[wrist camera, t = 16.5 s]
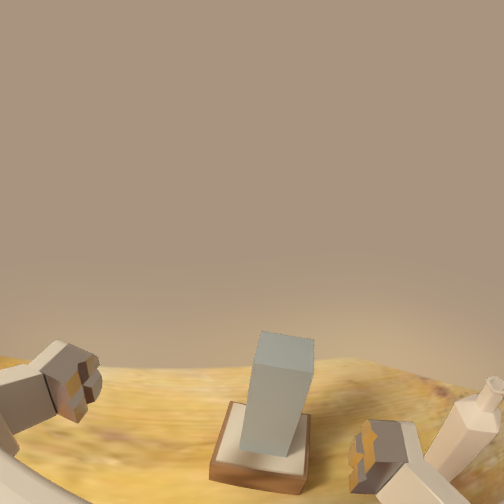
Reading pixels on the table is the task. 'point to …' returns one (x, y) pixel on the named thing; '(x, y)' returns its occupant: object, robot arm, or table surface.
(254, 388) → the grey tall block
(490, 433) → the perfume bottle
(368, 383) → the table surface
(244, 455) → the plinth
